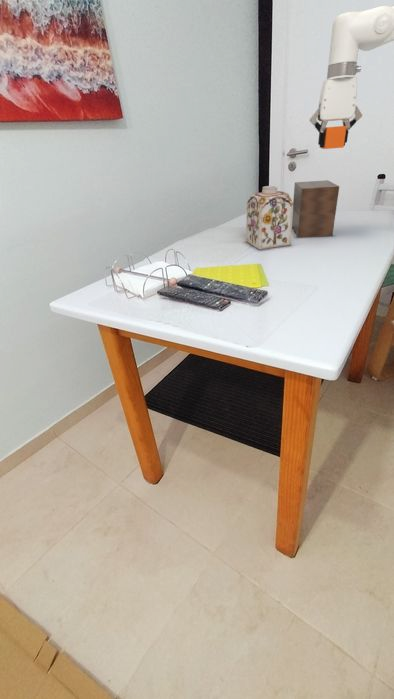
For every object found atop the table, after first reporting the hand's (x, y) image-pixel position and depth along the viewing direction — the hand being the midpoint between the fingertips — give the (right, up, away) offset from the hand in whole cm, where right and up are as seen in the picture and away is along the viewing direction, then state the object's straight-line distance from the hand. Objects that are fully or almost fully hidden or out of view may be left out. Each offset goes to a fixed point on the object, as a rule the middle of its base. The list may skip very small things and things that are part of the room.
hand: (332, 145), depth 106 cm
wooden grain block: (0, -19, +21) cm, 29 cm away
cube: (0, 0, 0) cm, 1 cm away
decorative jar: (-18, -28, +11) cm, 35 cm away
